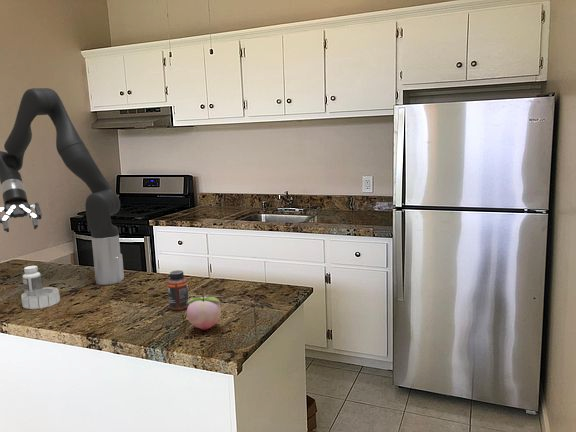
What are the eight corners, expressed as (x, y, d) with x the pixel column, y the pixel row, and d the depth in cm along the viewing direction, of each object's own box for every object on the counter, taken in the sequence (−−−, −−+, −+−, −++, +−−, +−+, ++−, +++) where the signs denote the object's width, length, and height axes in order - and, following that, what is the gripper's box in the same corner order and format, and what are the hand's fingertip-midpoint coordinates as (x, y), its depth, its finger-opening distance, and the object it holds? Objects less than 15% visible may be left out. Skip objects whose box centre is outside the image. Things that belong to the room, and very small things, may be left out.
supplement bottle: (192, 305, 144) (190, 270, 142) (182, 312, 138) (180, 275, 136) (176, 303, 145) (173, 268, 144) (165, 310, 140) (162, 274, 138)
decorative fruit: (222, 322, 130) (221, 287, 128) (222, 334, 122) (220, 297, 120) (188, 324, 128) (186, 289, 127) (185, 336, 120) (183, 300, 119)
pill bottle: (43, 291, 160) (40, 264, 159) (41, 296, 155) (38, 268, 154) (26, 293, 159) (23, 266, 157) (23, 298, 154) (19, 270, 152)
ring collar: (64, 296, 154) (63, 286, 154) (52, 307, 144) (50, 297, 144) (31, 298, 153) (30, 288, 153) (16, 309, 143) (15, 299, 142)
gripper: (-9, 189, 163) (-2, 225, 156) (36, 186, 172) (44, 220, 164) (-9, 202, 168) (-2, 238, 161) (35, 198, 177) (43, 232, 169)
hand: (21, 229), depth 163 cm, fingers open, 8 cm apart
